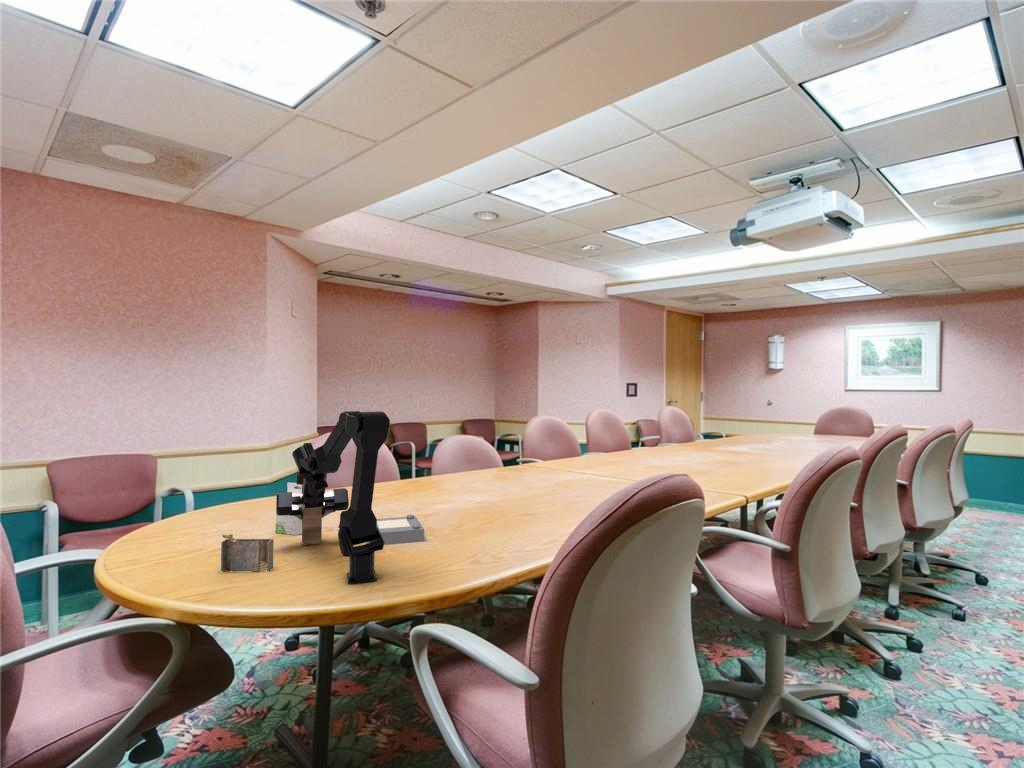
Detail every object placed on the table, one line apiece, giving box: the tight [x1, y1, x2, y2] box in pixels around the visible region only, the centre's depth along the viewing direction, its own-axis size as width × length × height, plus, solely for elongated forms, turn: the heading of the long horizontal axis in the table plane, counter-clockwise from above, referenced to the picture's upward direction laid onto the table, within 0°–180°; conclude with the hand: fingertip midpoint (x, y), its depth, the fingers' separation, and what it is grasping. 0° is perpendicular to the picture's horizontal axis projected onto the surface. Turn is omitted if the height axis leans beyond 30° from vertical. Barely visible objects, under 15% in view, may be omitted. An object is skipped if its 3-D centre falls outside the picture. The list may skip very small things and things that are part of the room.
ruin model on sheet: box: [220, 533, 275, 573], centre depth 128 cm, size 11×3×10 cm, turn 92°
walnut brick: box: [301, 507, 323, 546], centre depth 150 cm, size 5×5×10 cm
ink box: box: [275, 481, 303, 536], centre depth 161 cm, size 9×5×15 cm, turn 71°
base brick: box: [366, 514, 425, 545], centre depth 158 cm, size 16×16×4 cm
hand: (311, 517), depth 152 cm, fingers closed on walnut brick, 5 cm apart
